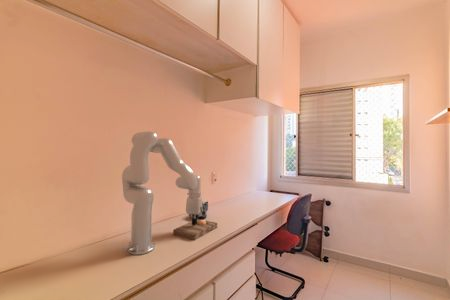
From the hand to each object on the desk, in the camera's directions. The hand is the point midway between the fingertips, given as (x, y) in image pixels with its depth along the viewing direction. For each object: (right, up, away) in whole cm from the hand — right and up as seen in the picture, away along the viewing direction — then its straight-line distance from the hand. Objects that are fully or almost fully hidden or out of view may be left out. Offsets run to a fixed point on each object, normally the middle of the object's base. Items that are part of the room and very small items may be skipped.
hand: (194, 224), depth 140 cm
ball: (+4, -1, +5) cm, 7 cm away
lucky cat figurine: (0, -4, +29) cm, 29 cm away
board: (+1, -4, -1) cm, 4 cm away
